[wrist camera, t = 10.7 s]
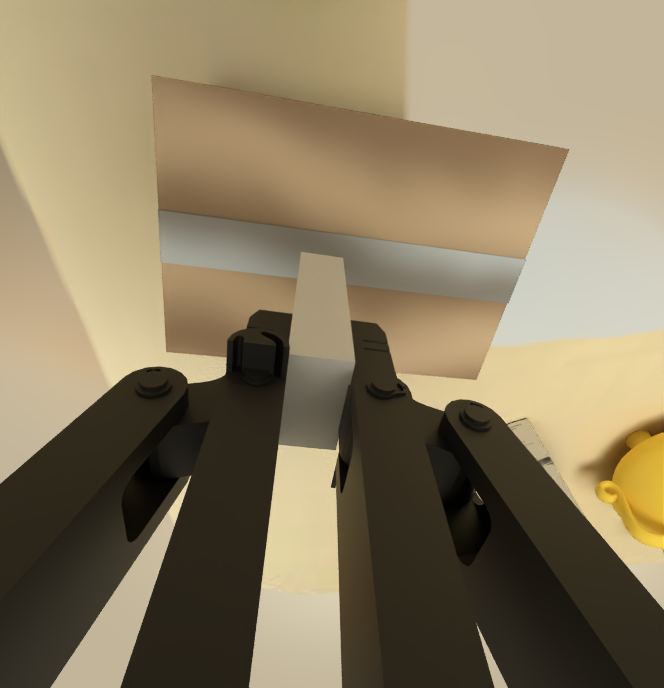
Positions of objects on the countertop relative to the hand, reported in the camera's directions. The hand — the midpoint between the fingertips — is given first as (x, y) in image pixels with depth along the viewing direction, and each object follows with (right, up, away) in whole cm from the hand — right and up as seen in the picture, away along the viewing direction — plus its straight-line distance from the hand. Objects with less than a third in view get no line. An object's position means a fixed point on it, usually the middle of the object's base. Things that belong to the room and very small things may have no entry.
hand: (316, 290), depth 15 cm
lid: (+1, +2, +5) cm, 6 cm away
